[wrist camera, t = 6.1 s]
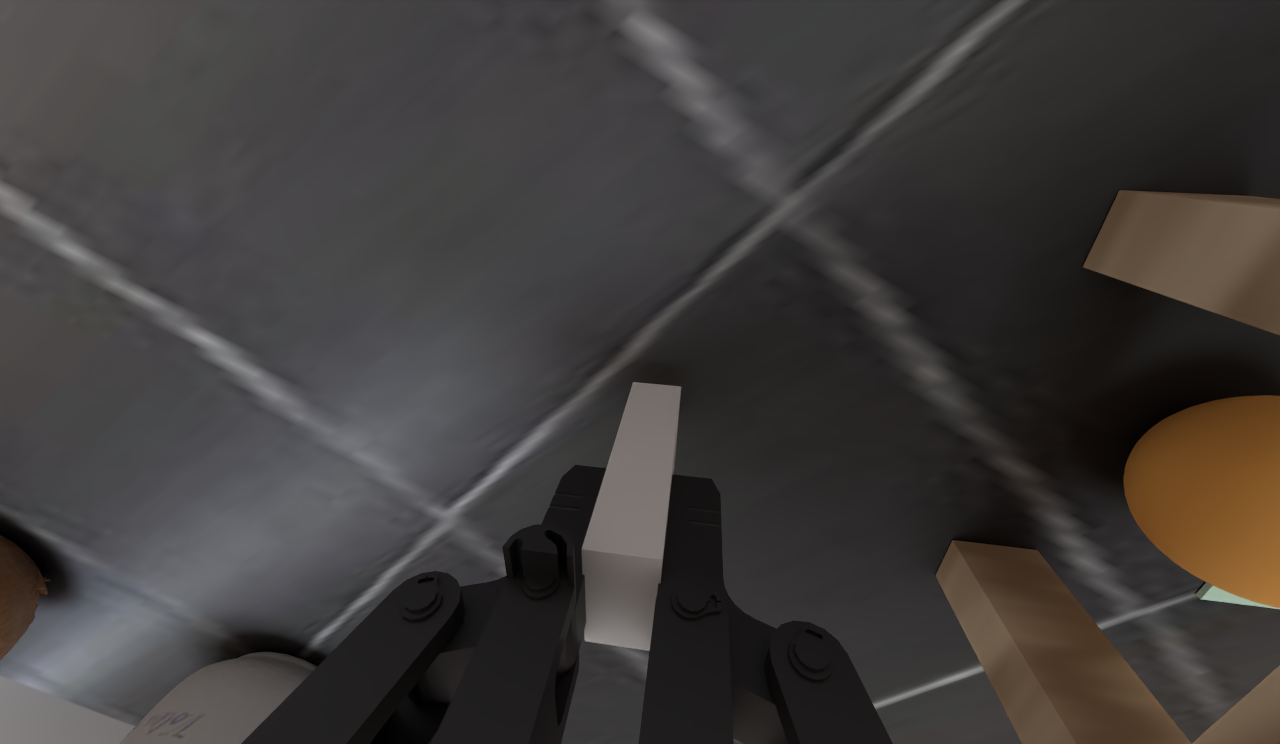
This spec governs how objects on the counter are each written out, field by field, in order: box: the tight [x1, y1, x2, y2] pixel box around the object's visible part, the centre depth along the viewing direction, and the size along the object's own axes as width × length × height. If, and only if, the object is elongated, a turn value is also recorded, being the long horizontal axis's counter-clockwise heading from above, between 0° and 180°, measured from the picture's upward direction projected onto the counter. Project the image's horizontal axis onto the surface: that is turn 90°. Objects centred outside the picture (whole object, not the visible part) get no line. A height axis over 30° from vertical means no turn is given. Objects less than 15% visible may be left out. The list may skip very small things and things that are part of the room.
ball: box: [1123, 395, 1280, 608], centre depth 12 cm, size 6×6×6 cm
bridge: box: [936, 190, 1280, 744], centre depth 11 cm, size 3×14×9 cm, turn 178°
